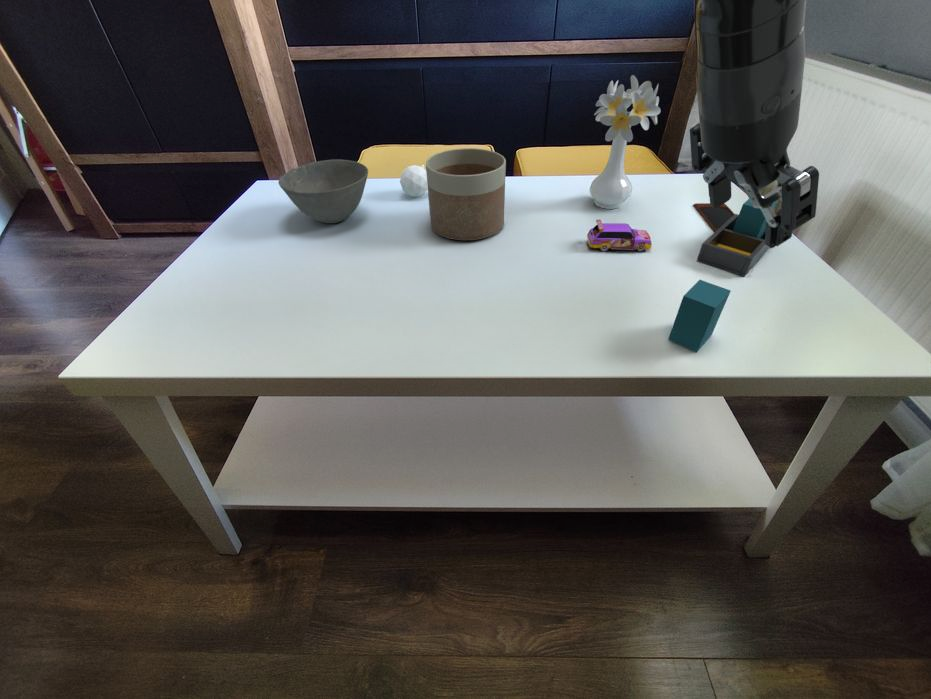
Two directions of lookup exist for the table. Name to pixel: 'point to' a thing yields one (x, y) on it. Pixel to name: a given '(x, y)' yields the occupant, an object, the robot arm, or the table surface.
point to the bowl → (326, 188)
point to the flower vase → (621, 137)
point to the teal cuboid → (751, 220)
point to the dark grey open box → (732, 249)
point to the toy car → (618, 237)
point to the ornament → (414, 180)
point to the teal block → (698, 315)
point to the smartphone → (714, 214)
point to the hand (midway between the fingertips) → (747, 221)
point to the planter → (466, 193)
